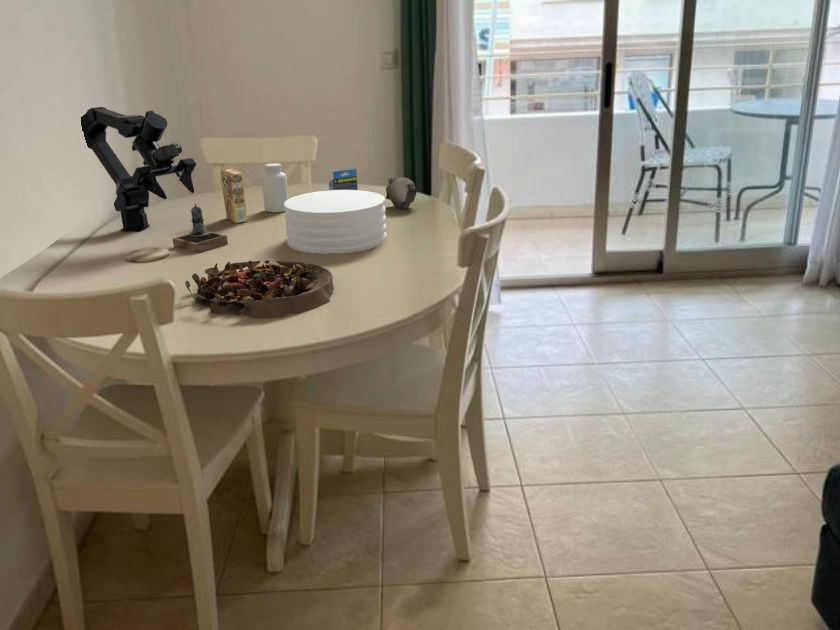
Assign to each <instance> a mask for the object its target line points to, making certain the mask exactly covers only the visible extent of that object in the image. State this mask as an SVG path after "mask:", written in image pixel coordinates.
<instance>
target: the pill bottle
mask: <svg viewBox="0 0 840 630" xmlns="http://www.w3.org/2000/svg"><path fill="white" fill-rule="evenodd" d="M264 169H265V170H264V171H265V172H264V173H263V174H262V175H261V186H262V195H263V207H264V212H267V213H277V214H278V213H283V212H284V213H285V211H286V210H285V209H284V202H285V201H286V200H288V199H289V193H288V191H289V190H288V183H287V174H286V173H285V172H282V170H283V167H282V164H281V163H276V162H275V163H267V164H265V165H264Z"/></svg>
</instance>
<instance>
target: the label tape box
mask: <svg viewBox="0 0 840 630" xmlns="http://www.w3.org/2000/svg"><path fill="white" fill-rule="evenodd" d="M331 172H332V179H331V180H330V181H328V191H329V190H359V189H358V176H357V168H351V169H349V168H348V169H341V170H333V171H331ZM343 174H345V175H343Z"/></svg>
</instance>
